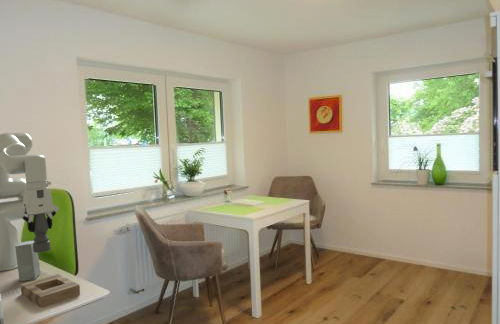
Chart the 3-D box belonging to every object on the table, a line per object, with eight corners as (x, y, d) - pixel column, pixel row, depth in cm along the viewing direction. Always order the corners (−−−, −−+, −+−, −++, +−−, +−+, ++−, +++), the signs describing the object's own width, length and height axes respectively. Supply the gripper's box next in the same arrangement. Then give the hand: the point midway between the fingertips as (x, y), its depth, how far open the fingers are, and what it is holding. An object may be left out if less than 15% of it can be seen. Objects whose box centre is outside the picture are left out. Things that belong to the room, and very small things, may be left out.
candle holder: (43, 252, 153) (38, 190, 151) (29, 252, 154) (24, 190, 153) (54, 248, 159) (49, 188, 157) (41, 248, 160) (36, 188, 159)
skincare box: (35, 280, 167) (32, 244, 165) (17, 282, 165) (14, 245, 164) (41, 273, 175) (38, 239, 174) (23, 275, 173) (21, 240, 172)
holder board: (21, 294, 151) (20, 284, 151) (58, 283, 162) (57, 273, 161) (41, 307, 138) (40, 296, 138) (80, 294, 149) (79, 284, 148)
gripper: (55, 183, 164) (58, 224, 165) (9, 188, 151) (13, 233, 152) (62, 183, 159) (66, 226, 160) (16, 189, 146) (20, 235, 147)
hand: (40, 229), depth 156 cm, fingers closed on candle holder, 6 cm apart
